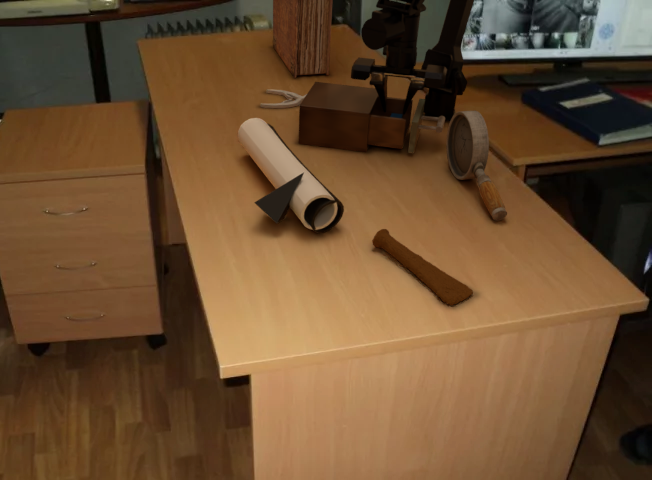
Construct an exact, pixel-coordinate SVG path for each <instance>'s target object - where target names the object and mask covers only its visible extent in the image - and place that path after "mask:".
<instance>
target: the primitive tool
mask: <svg viewBox="0 0 652 480" xmlns="http://www.w3.org/2000/svg"><path fill="white" fill-rule="evenodd" d="M371 242H372V246H374V247H375V248H377V249H383V250H384V251H385V252H387V253H388V254H390V255H391V257H393V258H394V259H395V260H397V261H398V262H399V263H401V264H402V266H403V268H406V269H407V270H408V271H410V272H411V273H412V274H414V275H415V276H416V277H417V278H418V279H419V280H420V281H421V282H422V283H423V284H425V285H426V286H427V287H428V288H429V289H430V290H431V291H432V292H433V293H434V294H435V295H436V297H438V298H440V299H441V301H442V303H445V304H446V305H448V306H449V305H450V306H454V305H456V304H459V302H463V301H464V300H466V299H467V298H469V297H471V296H472V295H473V294H474V291H473V290H472V288H470V287H469V286H468V285H467V284H465V283H463V282H462V281H459V279H456V278H455V277H454V276H451V275H450V274H449V273H446V272H445V271H443V270H442V269H440V268H439V267H438V266H436V265H434V264H433V263H431V262H429V260H428V261H427V260H426V259H425V258H423V257H422V256H421V255H420V254H417V253H416V252H413V251H412V250H411V249H410V248H408V247H407V246H405V245H404V244H402V243H401V242H400V241H398V240H397V239H396V238H394V236H391V234H390V231H389V230H388V229H387V228H381V229H379V230H378V231H377V232H376V233H375V235H374V236H373V239H372V240H371Z"/></svg>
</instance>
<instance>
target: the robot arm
mask: <svg viewBox="0 0 652 480" xmlns="http://www.w3.org/2000/svg"><path fill="white" fill-rule="evenodd" d="M425 1H426V0H377V2H376V5H375V7H376V8H377V9H376V10H373V11H372V12H371V17H370V18H368V19H367V20H366V21H364V23H363V24H362V27H361V31H360V35H361V36H360V37H361V40H362V42H363V43H364V45H365V46H366V48H368V49H370V50H372V51H377V50H380V49H382V55H383V56H386V57H385V65H382V64H376V59H375V58H368V57H357V58H356V59H355V61H354V62H353V64H352V65H351V70H350V79H352V80H358V81H367V80H369V78H370V80H369V85H370V86H373V88H375V89H376V91H377V93H378V95H379V98H380V101H381V105H382V108H383V111H384V112H386V110H387V97H388V79H389V77H394V78H403V79H410V82H409V85H408V87H407V91H406V92H407V93H406V95H405V99H406V100H405V104H404V108H403V115H405V113H406V111H407V109H408V107H409V104H410V102H411V100H414V97H415V96H416V95H417V93H418V92H419V91H424V88H426V89H428V91H426V92H425V95H424V99H425V104H424V112H423V116H431V117H438V118H439V117H440V116H444V117H445V122H450V121H451V119H452V117H453V115H454V114H455V113H456V109H455V107H456V103H457V97H458V96H463V95H464V92H465V91H466V89H467V85H468V80H467V78H466V76H465V75H464V73H463V67H464V63H465V61H464V57H463V52H462V48H461V47H462V43H463V39H464V36H465V32H466V30H467V26H468V24H469V23H468V22H469V19H470V16H471V13H472V9H473V7H474V3H475V0H449V3H448V7H447V10H446V13H445V17H444V20H443V24H442V28H441V31H440V35H439V38H438V42H437V43H436V44H435V45H434V46H433V47H432V48H428V49H427V50H426V52H425V54H424V59H423V63H422V64H421V67H420V68H415V67H416V66H417V58H418V47H417V45H418V37H419V28H420V20H421V14H422V13H423V12H425V11H426V10H427V7H426V5H425V4H424V2H425Z"/></svg>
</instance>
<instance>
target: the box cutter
mask: <svg viewBox="0 0 652 480" xmlns="http://www.w3.org/2000/svg"><path fill="white" fill-rule="evenodd" d="M390 117H393V118H401V119H402V117H403V114H396V113H392V114H391V116H390Z"/></svg>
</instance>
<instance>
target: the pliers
mask: <svg viewBox="0 0 652 480" xmlns="http://www.w3.org/2000/svg"><path fill="white" fill-rule="evenodd" d="M265 93H266V94H271V95H272V94H273V95H280V96H283V97H285V98H286V99H285V100H283V101H281V102H276V103H265V102H264V103H263V102H261V103H260V104H259V107H260V108H263V109H265V108H266V109H288V108H295V107H298V106H300V104H301V102H302V101H303V99H304V98H305V96H306V95H307V93H306V94H304V95H300V94H298V93H297V92H293V91H289V90H284V89H273V88H272V89H269V88H268V89H266V90H265Z"/></svg>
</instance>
